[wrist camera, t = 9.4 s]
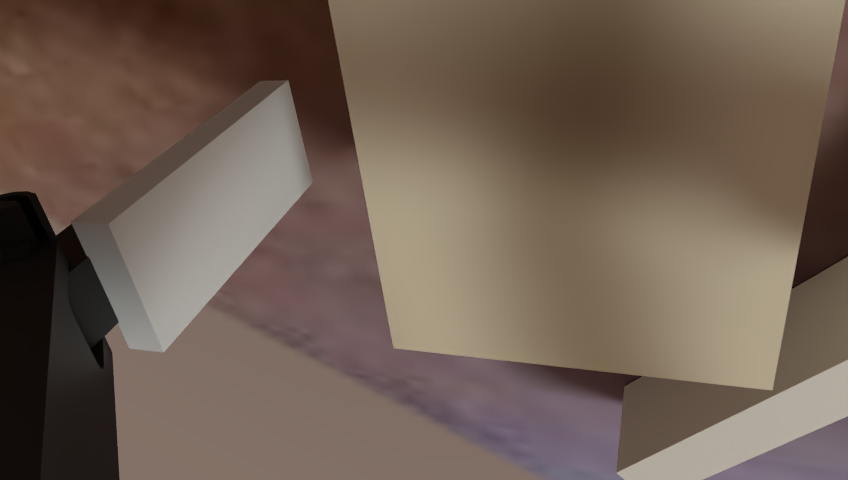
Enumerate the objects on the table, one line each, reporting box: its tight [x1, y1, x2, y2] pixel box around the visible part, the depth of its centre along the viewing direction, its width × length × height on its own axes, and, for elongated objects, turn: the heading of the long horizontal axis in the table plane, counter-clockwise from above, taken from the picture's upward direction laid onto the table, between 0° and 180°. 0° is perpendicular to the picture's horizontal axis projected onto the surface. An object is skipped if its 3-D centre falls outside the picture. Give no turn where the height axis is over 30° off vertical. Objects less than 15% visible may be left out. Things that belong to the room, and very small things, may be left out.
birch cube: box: [328, 0, 845, 391], centre depth 16 cm, size 8×8×8 cm
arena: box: [616, 257, 848, 480], centre depth 17 cm, size 18×19×4 cm
